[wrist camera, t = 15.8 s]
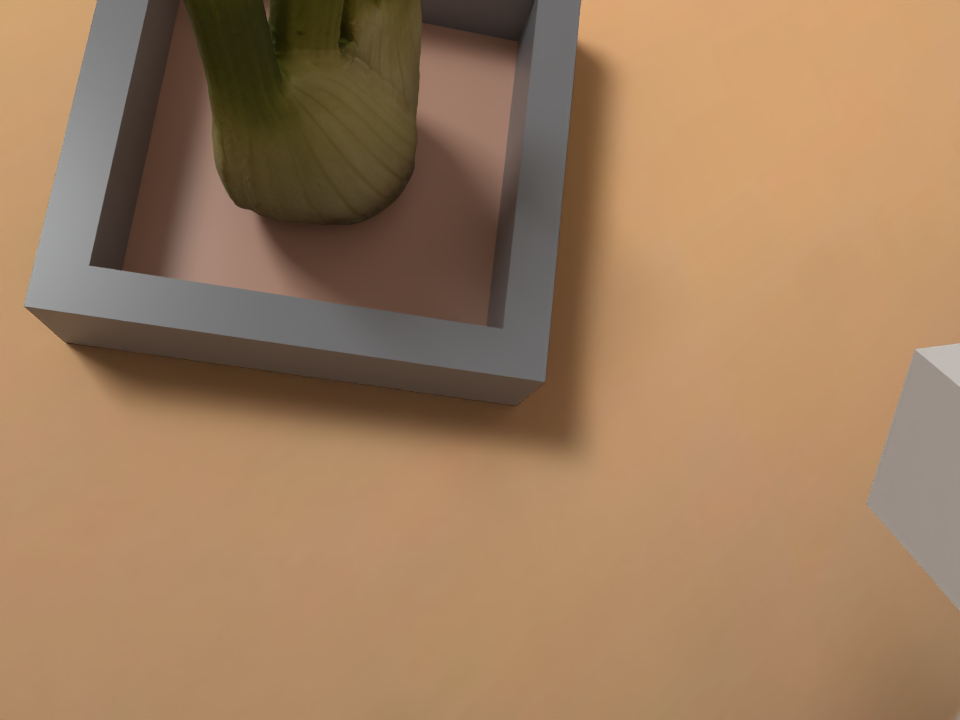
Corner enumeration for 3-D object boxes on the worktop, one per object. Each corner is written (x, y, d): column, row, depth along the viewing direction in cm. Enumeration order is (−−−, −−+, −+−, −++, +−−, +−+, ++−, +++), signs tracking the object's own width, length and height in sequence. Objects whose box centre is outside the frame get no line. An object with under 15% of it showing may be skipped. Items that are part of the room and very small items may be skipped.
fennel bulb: (244, 270, 25) (180, 15, 14) (194, 111, 26) (92, -259, 14) (442, 215, 26) (537, -58, 15) (389, 66, 27) (439, -305, 16)
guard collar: (516, 405, 26) (544, 382, 23) (64, 342, 24) (24, 306, 21) (554, 26, 29) (585, -45, 26) (154, -55, 27) (131, -142, 24)
